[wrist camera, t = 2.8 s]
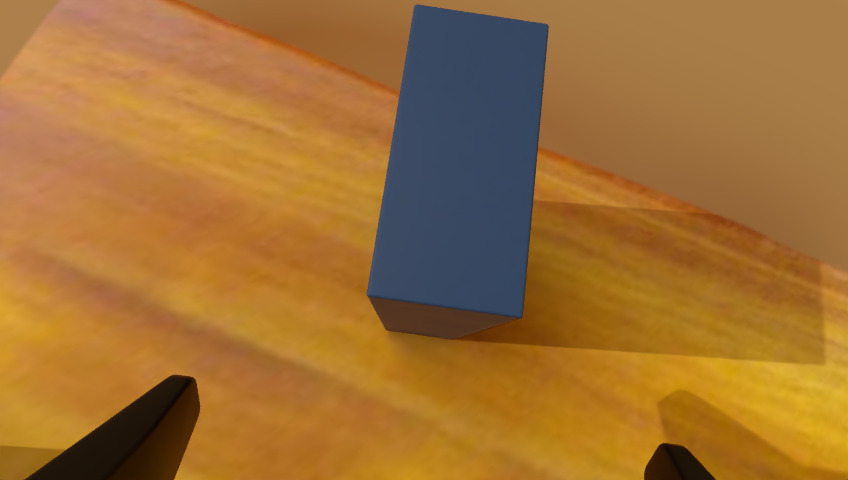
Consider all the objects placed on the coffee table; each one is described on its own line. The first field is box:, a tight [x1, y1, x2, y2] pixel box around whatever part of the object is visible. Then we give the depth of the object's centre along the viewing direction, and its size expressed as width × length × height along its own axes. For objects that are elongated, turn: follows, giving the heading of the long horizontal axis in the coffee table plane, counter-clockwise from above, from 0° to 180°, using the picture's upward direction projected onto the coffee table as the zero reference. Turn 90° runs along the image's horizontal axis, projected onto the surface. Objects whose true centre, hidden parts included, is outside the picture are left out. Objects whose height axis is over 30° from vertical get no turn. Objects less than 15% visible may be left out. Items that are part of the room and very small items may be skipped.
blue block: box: [367, 5, 548, 340], centre depth 16 cm, size 3×6×12 cm, turn 172°
